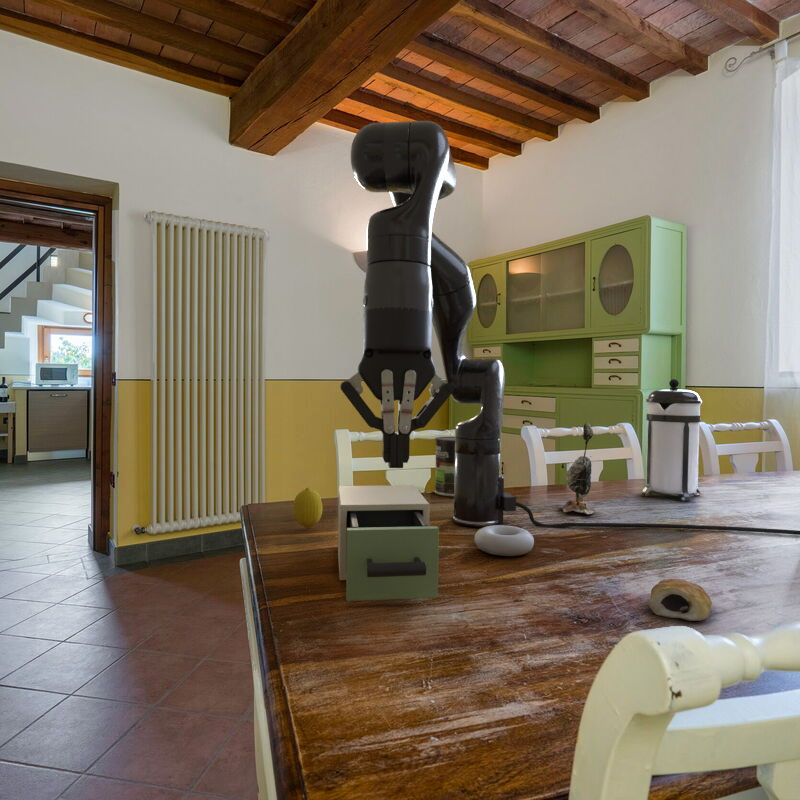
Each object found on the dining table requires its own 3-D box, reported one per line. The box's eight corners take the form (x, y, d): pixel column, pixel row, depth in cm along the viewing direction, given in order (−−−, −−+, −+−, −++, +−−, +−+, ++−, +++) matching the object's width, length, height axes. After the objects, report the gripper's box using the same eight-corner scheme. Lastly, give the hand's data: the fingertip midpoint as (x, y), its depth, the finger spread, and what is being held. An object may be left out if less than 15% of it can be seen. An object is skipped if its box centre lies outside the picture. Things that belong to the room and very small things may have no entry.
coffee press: (720, 502, 138) (724, 379, 137) (654, 501, 138) (657, 378, 137) (685, 489, 155) (688, 379, 155) (626, 488, 156) (629, 379, 155)
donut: (462, 546, 99) (498, 562, 90) (463, 526, 99) (498, 540, 90) (508, 540, 103) (546, 553, 94) (508, 521, 103) (546, 533, 94)
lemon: (316, 534, 105) (316, 491, 105) (288, 532, 106) (288, 489, 106) (326, 526, 110) (326, 485, 110) (299, 524, 112) (299, 484, 111)
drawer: (444, 611, 68) (446, 537, 68) (347, 615, 66) (348, 539, 66) (420, 563, 86) (421, 505, 85) (343, 565, 84) (343, 506, 84)
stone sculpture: (600, 508, 130) (603, 421, 129) (591, 518, 120) (593, 424, 119) (565, 504, 134) (566, 419, 133) (552, 513, 124) (554, 422, 123)
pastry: (660, 591, 78) (661, 564, 78) (716, 603, 74) (717, 574, 74) (646, 613, 70) (647, 583, 70) (707, 628, 66) (708, 596, 66)
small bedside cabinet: (428, 577, 82) (429, 503, 82) (339, 580, 81) (340, 504, 80) (413, 547, 97) (413, 485, 97) (337, 549, 95) (338, 485, 95)
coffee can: (446, 498, 139) (447, 440, 139) (427, 490, 149) (428, 437, 148) (482, 495, 143) (483, 439, 143) (462, 488, 153) (463, 436, 152)
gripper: (450, 315, 67) (447, 462, 67) (336, 311, 65) (334, 462, 65) (465, 306, 59) (461, 472, 60) (337, 302, 58) (335, 472, 58)
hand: (395, 467), depth 62 cm, fingers closed
